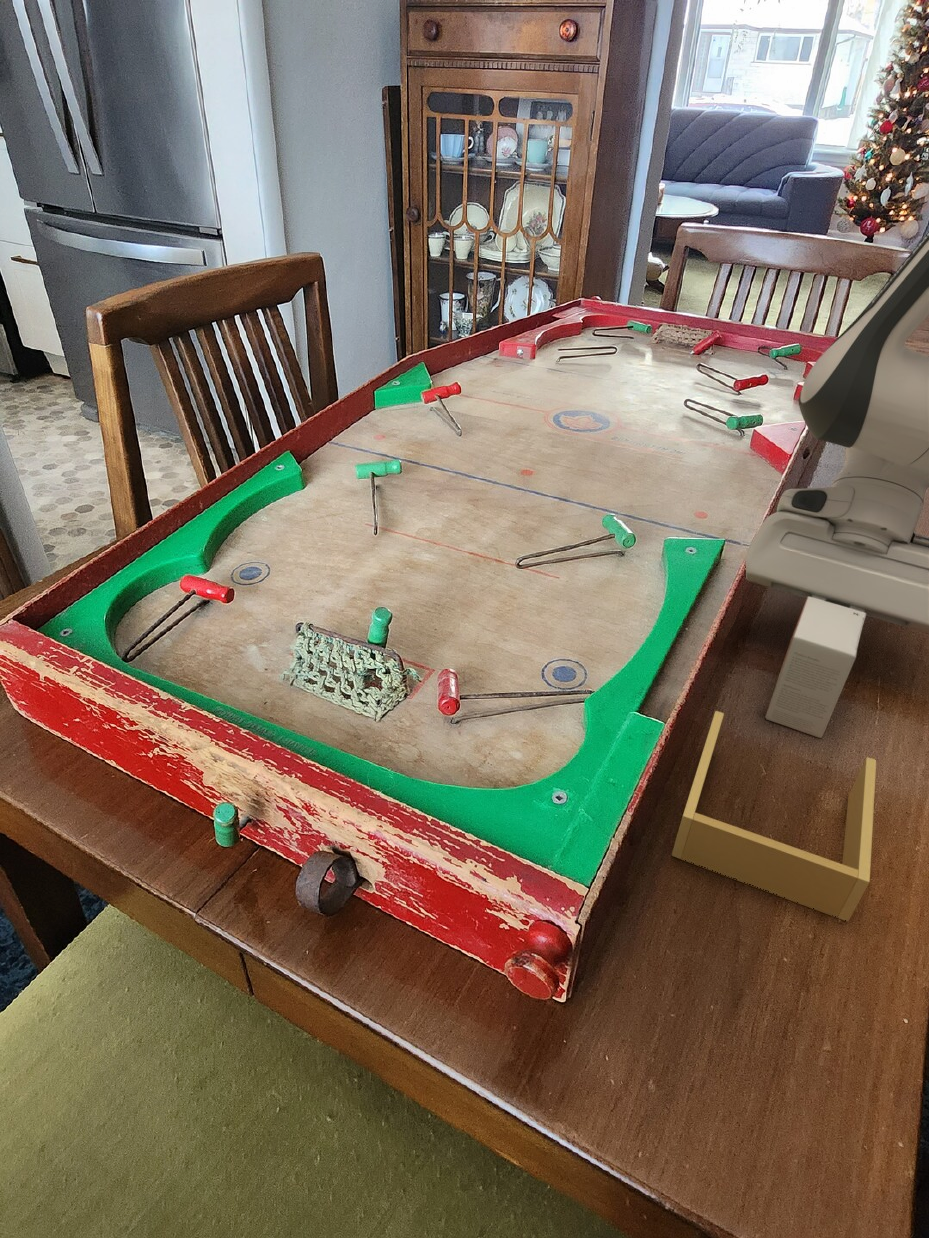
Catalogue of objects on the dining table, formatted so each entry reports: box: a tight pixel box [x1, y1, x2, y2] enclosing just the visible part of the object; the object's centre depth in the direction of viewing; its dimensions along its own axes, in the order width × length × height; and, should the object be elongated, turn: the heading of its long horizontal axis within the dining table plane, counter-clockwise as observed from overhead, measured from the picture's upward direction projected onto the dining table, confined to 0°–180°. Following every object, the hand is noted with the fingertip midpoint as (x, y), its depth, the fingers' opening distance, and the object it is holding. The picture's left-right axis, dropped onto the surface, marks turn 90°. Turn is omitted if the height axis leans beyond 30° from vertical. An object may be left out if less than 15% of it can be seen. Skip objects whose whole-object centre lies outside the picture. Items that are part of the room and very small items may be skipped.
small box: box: [764, 597, 867, 739], centre depth 76 cm, size 8×6×10 cm
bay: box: [671, 710, 877, 923], centre depth 65 cm, size 14×14×5 cm
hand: (822, 645), depth 79 cm, fingers closed, pressing on small box
